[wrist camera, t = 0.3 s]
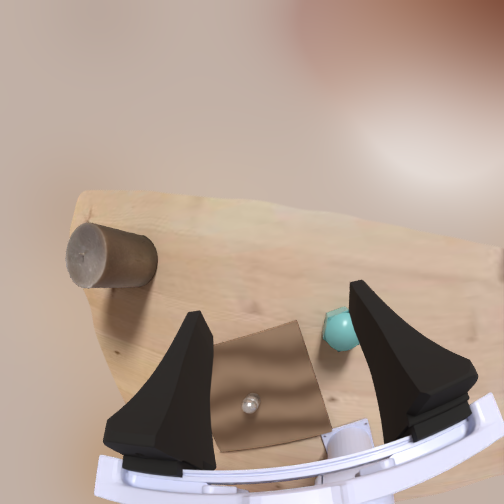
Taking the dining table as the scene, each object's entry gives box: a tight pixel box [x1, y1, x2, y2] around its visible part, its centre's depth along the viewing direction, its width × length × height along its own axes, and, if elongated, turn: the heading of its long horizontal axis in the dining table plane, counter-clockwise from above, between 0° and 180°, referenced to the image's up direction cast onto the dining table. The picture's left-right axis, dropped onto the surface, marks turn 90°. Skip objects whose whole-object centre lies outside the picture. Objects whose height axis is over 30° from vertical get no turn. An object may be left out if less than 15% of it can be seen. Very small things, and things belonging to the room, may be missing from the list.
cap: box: [322, 306, 359, 352], centre depth 37 cm, size 5×6×6 cm
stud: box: [241, 393, 261, 414], centre depth 38 cm, size 2×2×5 cm
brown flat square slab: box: [210, 320, 332, 452], centre depth 41 cm, size 20×20×1 cm
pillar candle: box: [66, 223, 158, 288], centre depth 41 cm, size 10×10×15 cm
